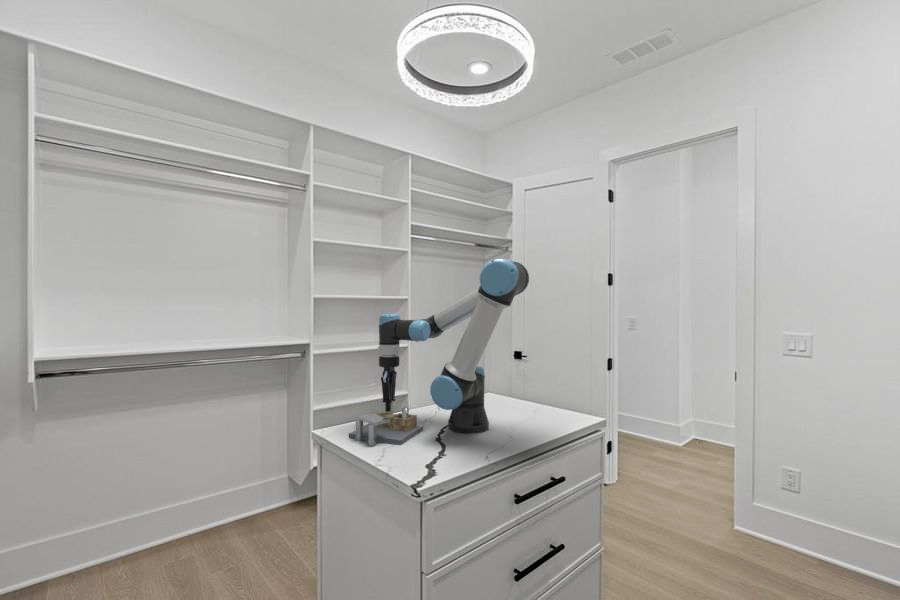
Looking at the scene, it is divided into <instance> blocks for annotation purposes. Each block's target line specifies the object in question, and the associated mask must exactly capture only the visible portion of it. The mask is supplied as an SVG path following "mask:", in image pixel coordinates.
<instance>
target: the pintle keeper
mask: <svg viewBox="0 0 900 600" xmlns="http://www.w3.org/2000/svg"><path fill="white" fill-rule="evenodd" d="M371 413H372V412H371ZM401 413H402V418H405V419H407V418H409V414H410V409H409V407H402V408H401ZM388 422H390V419H388V418H385V417H382V416H379V415H376V414H373V413H372V414H370V413H368V414H364V415H359V416H357V419H356V420H355V430H356V439H355V441H358V442H361V441H363V440H362V435H363V426H364V423H367V424H368V423H369V424H370V425H369V441H368V446H369V447H375V446H377V442H376V425H379V424H384V423H388Z"/></svg>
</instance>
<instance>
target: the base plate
mask: <svg viewBox="0 0 900 600" xmlns="http://www.w3.org/2000/svg"><path fill="white" fill-rule="evenodd" d="M423 431H424V426H422V425H417V426H416V427H415V428H413V429H411V430H410V431H400V430H392V429H390V428H389V427H380V426H376V443H377V442H378V443H384V444H391V445H398V446H402V445H403V444H404V443H406V442H408V441H410V440H411V439H412V438H414V437H415V436H417V435H418V434H420V433H421V432H423ZM348 438H349V439H355V440H356V429H355V430H353V431H351V432H348ZM361 441H368V442H369V425H368V423H367V424H365V425H363V435H362V440H361Z"/></svg>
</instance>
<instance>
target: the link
mask: <svg viewBox="0 0 900 600" xmlns="http://www.w3.org/2000/svg"><path fill="white" fill-rule="evenodd" d="M372 413H373V414H376V415H379V416H382V417H385V418H388V419H390V422H388V423H384V424H379V425H376V426H380V427H389V428H390V429H392V430H400V431H410V430H411V429H413V428H415V427H416V426H418V425H417V424H418V415H417V414H410V413H409V418H407V419H405V418H402V412H400V413H393V414H389V413H385V412H377V411H372V412H370V413H369V414H372ZM367 424H368V425H370V424H369V423H367Z"/></svg>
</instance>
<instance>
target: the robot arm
mask: <svg viewBox="0 0 900 600" xmlns="http://www.w3.org/2000/svg"><path fill="white" fill-rule="evenodd" d="M479 283H480V285H479V287H478V288H477V289H475V290H473V291H472V292H471V293H468V294H467V295H465V296H463V297H462V298H460V299H458V300H456V301H455V302H453V303H451V304H449V305H447V306H446V307H445V308H443V309H441V310H440V311H437V312H436V313H435V314H432V315H431V316H429V317H427V318H422V319H420V318H419V319H401V317H400V314H397V313H382V314H380V315H379V318H378V319H379V323H378V337H379V338H378V339H379V340H378V347H377V349H378V350H379V351H378V352H379V353H378V354H379V357H378V366H379V367H380V368H383V372H382V376H381V378H380V380H381V389H382V403H384V413H389V414H394V402H396V396H395V395H396V383H397V371H395V368H397V367H399V366H400V356H399V355H400V351H401V350H400V341H412V342H416V343H417V342H418V343H419V342H425V341H427V340H429V339H436V338H438V337H441V335H442V334H443V333H444V332H445V331H447V330H449V329H450V328H452V327H454V326H456V325H458V324H460V323H462V322H464V321H465V320H467V319H469V321H468V324H467V326H466V328H465V330H464V332H463V335H462V337H461V339H460V341H459V344H458V345H457V348H456V351H455V352H454V355H453V357H452V359H451V360H450V361H448V362H446V363H445V364H444V365H443V369H442V370H441V373H440V375H439V376H436V377H435V378H434V379H433V380H432V382H431V384H430V388H429V389H430V390H429V392H430V395H431V398H432V401H433V403H434V404H435V405H436V406H437V407H439V408H440V409H442V410H445V411H451V412H450V415H449V416H448V417H449V418H448V422H447V428H448V430H450V431H451V432H455V433H460V434H478V433H479V434H480V433H484V432H486V431H489V429H490V423H489V421H490V420H489V418H488V415H487V412H486V409H485V369H484V368H483V366H478V365H479V363H480V361H481V358H482V356H483V354H484V352H485V350H486V348H487V346H488V343H489V341H490V339H491V338H492V334H493V333H494V330H495V328H496V326H497V324H498V322H499V320H500V317H501V315H502V314H503V313H502V312H504V309H507V308H509V307H511V305H512V303H513V301H514V298H515V297H516V296H518V295H520V294H522V293H523V292H525V290H526V289H527V287H528V285H529V283H530V274H529V272H528V269H527V268H526V267H525V266H524V265H523V264H522V263H520V262H518V261H514V260H513V261H512V260H509V259H507V258H495V259H492V260H490V261H488V262H487V263H486V264H485V265H484V266H483V267H482V269H481V271H480V273H479Z"/></svg>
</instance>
